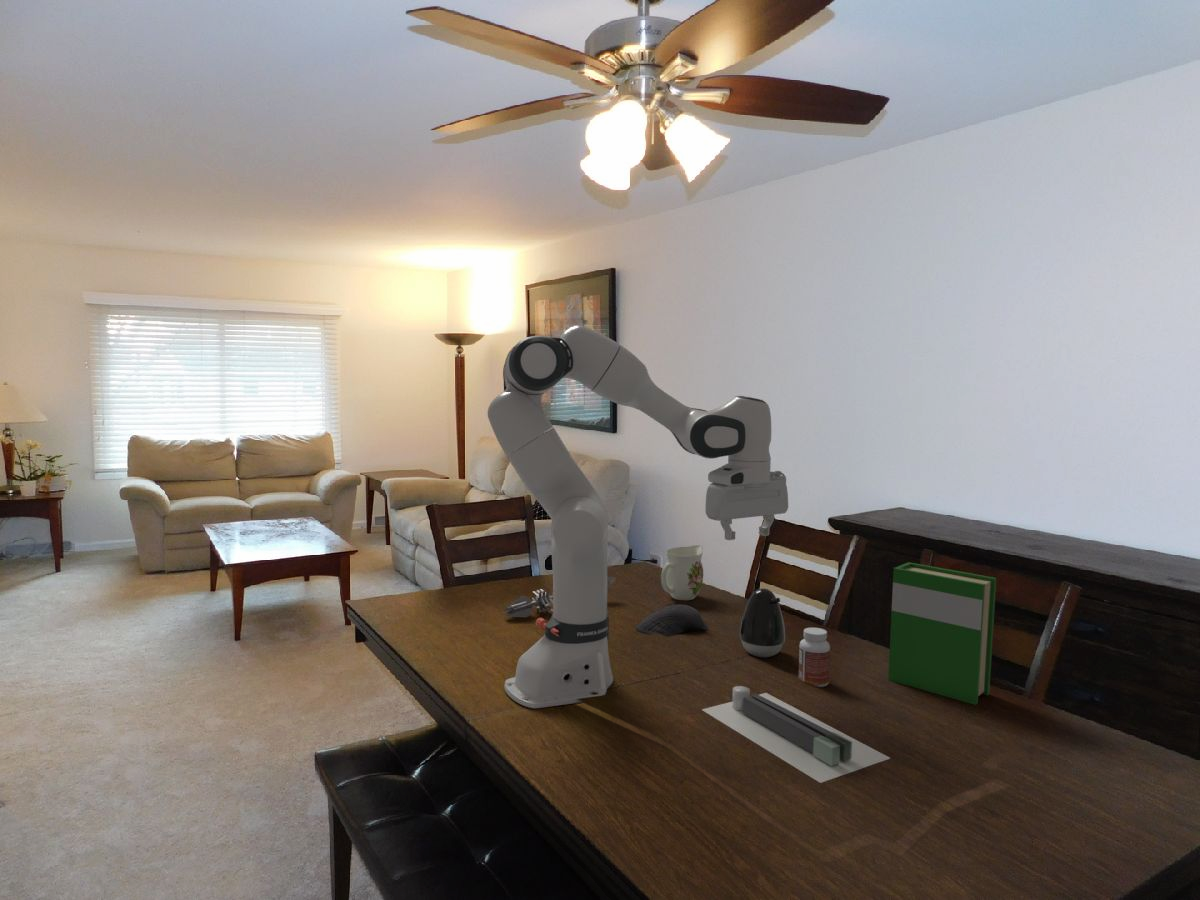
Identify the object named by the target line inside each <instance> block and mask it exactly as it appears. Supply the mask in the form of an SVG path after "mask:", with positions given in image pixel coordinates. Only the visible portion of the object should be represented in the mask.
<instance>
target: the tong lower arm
mask: <svg viewBox="0 0 1200 900" xmlns="http://www.w3.org/2000/svg"><path fill="white" fill-rule="evenodd" d="M731 699H732V701H731V702H732V708H733V709H734V710H736V711H741V712H743V713H744V714H745V715H747V716H749V717H750V718H752V719H754V720H756V721H757V722H759V723H761V724H763V725H764V726H766V727H768V728H769V729H771V730H773V731H775V732H776V733H778V734H780V735H782V736H783V737H785V738H787V739H788V740H790V741H792V742H794V743H795V744H797V745H799V746H801V747H802V748H804V749H806V750H807V751H809V752H811V753H813V756H815V757H817V758H819V759H820V760H822V761H824V762H825V763H827V764H829V765H831V766H833V765H836V764H839V761H840V745H838V744H836V743H835V742H833V741H831V740H829V739H827V738H825V737H824V736H822V735H820V734H818V733H816V732H814V731H813V730H811V729H809V728H807V727H805V726H803V725H802V724H800V723H798V722H796V721H794V720H792V719H790V718H789V717H787V716H785V715H783V714H781V713H779V712H778V711H776V710H774V709H772V708H770V707H768V706H767V705H765V704H763V703H761V702H759V701H757V700H756V699H754V698H752V697H751V689H750V688H748V687H746V686H742V685H736V686H733V687H732V698H731Z"/></svg>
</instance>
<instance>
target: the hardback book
mask: <svg viewBox="0 0 1200 900" xmlns="http://www.w3.org/2000/svg"><path fill="white" fill-rule="evenodd" d="M996 589H997V577H994V576H988V575H987V576H986V575H981V574H976V573H970V572H965V571H959V570H954V569H949V568H943V567H942V568H941V567H938V566H937V567H936V566H931V565H925V564H919V563H914V562H910V561H909V562H908V561H907V562H906V563H903V564H901V565H898V566H896V567H893V575H892V594H891V595H892V596H891V616H890V636H889V637H890V638H889V640H890V641H889V655H888V656H889V657H888V659H889V660H888V676H887V677H888V678H887V679H888V681H891V682H895V683H898V684H902V685H905V686H908V687H911V688H915V689H919V690H922V691H925V692H929V693H933V694H937V695H938V696H939V695H940V696H943V697H945V698H946V697H947V698H949V699H950V698H951V699H954V700H957V701H960V702H964V703H968V704H971V705H974V706H977V705H978V703H979V696H981V695H985V696H989V695H990V687H991V685H990V684H991V673H992V672H991V670H992V654H993V653H992V652H993V637H994V622H995V607H996V591H997V590H996Z"/></svg>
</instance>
